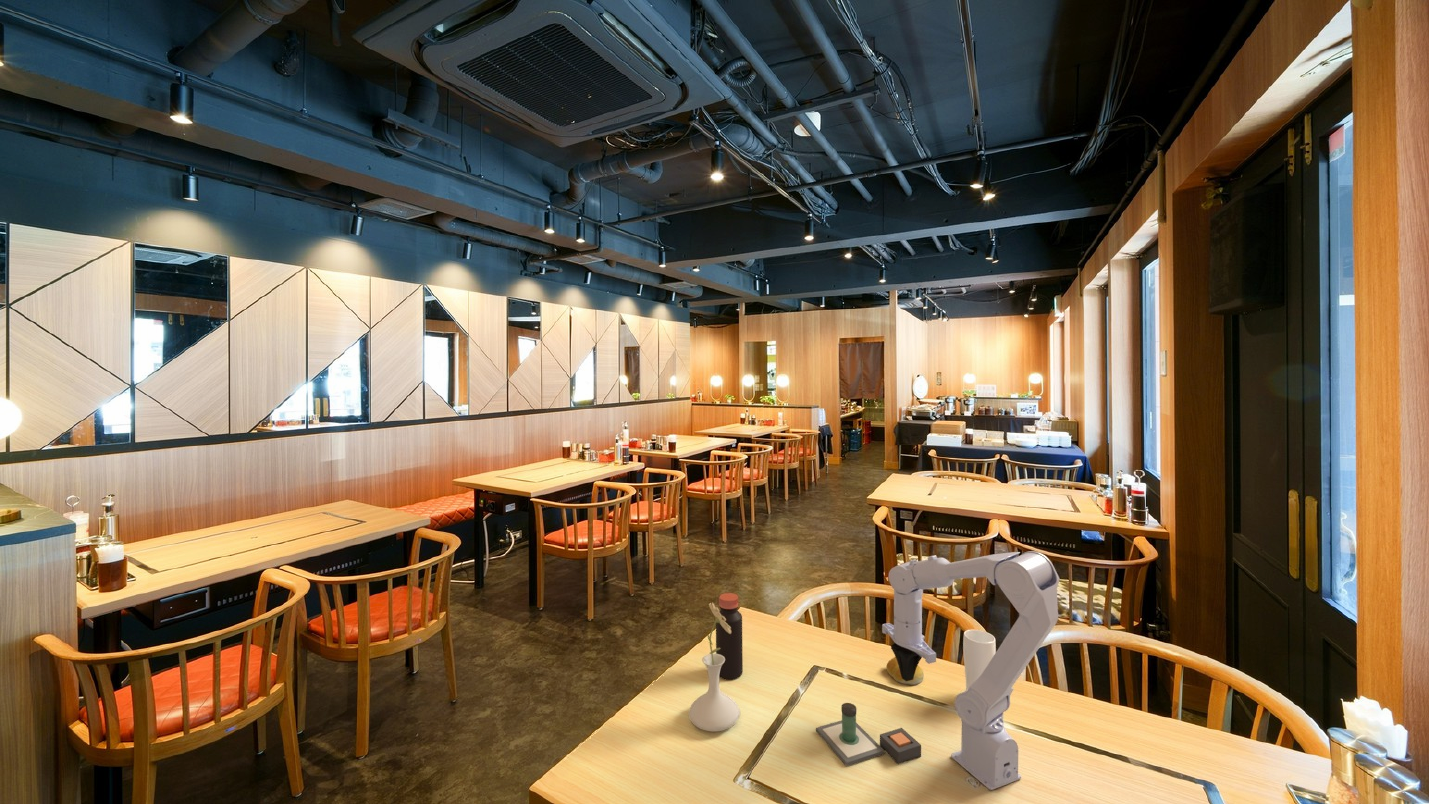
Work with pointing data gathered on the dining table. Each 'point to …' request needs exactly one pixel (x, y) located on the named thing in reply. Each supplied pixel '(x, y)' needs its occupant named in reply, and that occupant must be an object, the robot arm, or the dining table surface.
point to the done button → (900, 740)
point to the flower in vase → (714, 692)
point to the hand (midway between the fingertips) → (907, 678)
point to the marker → (848, 722)
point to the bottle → (730, 638)
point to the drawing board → (849, 744)
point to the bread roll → (895, 672)
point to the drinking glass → (977, 653)
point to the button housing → (903, 752)
